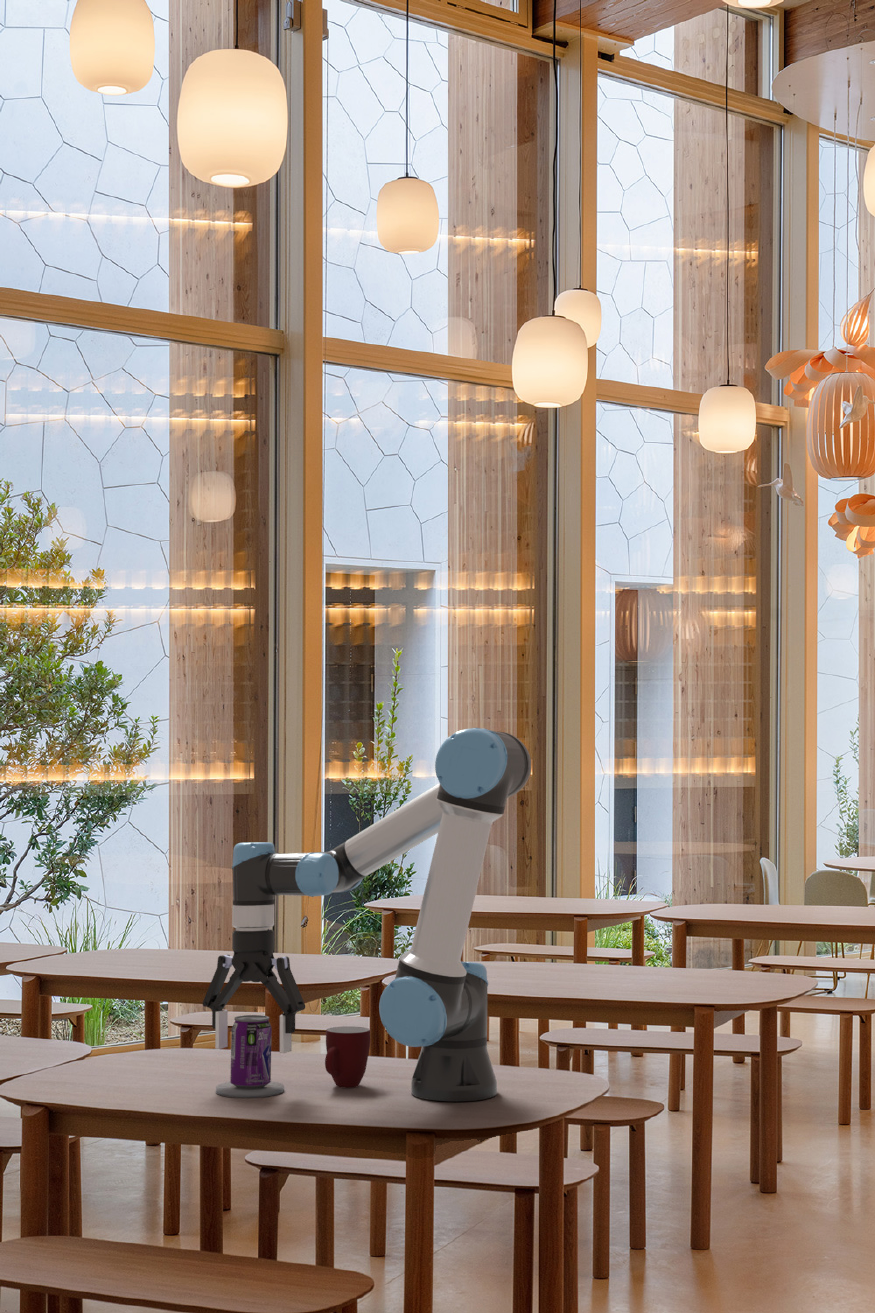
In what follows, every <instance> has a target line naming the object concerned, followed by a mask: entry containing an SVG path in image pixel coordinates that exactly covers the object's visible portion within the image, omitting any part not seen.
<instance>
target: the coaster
mask: <svg viewBox="0 0 875 1313" xmlns="http://www.w3.org/2000/svg"><path fill="white" fill-rule="evenodd" d="M284 1091H285V1085H284V1084H283V1083H281V1082H278V1081H272V1080H271V1082H270V1083H269V1084H267V1085H265V1086H264V1087H262V1088H258V1089H241V1088H237V1087H236V1086H235V1085H233V1084H231V1083H230V1081H226V1082H221V1083H220V1084H217V1085H216V1086H215V1094H217V1095H219V1096H222V1097H227V1098H236V1099H256V1098H268V1097H273V1096H277V1095H281V1094H282V1093H284Z"/></svg>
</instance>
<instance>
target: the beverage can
mask: <svg viewBox="0 0 875 1313" xmlns="http://www.w3.org/2000/svg"><path fill="white" fill-rule="evenodd" d="M269 1020H270V1016H267V1015H263V1014H262V1015H261V1014H260V1015H259V1014H246V1015H238V1016H237V1015H236V1016H234V1022H233V1025H232V1026H231V1035H230V1036H231V1037H230V1038H231V1039H230V1041H231V1042H230V1043H231V1044H230V1050H231V1051H230V1081H229V1082H230V1083H231V1084H233V1085H235V1086H236V1087H237V1088H241V1089H258V1088H262V1087H264V1086H265V1085H267V1084H269V1083H270V1082H271V1081H272V1079H271V1075H272V1028H273V1027H272V1025H271V1022H270V1021H269Z"/></svg>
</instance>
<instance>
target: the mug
mask: <svg viewBox="0 0 875 1313" xmlns="http://www.w3.org/2000/svg"><path fill="white" fill-rule="evenodd" d="M370 1046H371V1029H370V1028H368V1027H366V1026H365V1027H364V1026H355V1025H354V1026H347V1025H346V1026H344V1025H343V1026H333V1027H329V1028H328V1027H327V1029H326V1030H325V1048H326V1054H325V1059H324V1067H325V1068H324V1069H325V1070H326V1072H327V1073H328V1074H329V1075H331V1077H332V1080H333V1082H334V1085H335V1086H336V1087H338V1088H341V1089H354V1088H358V1087H359V1086H360V1084H361V1081H362V1079H363V1077H364V1075H365V1073H366V1071H367V1070H366V1069H367V1065H368V1059H369V1053H370V1048H371V1047H370Z"/></svg>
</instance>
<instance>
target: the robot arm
mask: <svg viewBox="0 0 875 1313" xmlns="http://www.w3.org/2000/svg"><path fill="white" fill-rule="evenodd" d="M527 748H528V747H526V745H525V744H524V743H523V741H521V740H520V739H519V738H518V737H516V736H514V735H513V734H511V733H508V732H504V731H495V730H489V729H487V728H481V727H470V728H465V729H461V730H458V731H456V732H454V733H452V734H451V735H450V736H448V737H447V738H446V739H445V740H444V741H443V743H442V744H441V746H440V747H439V749H438V751H437V753H436V757H435V760H434V769H435V770H434V771H435V776H436V778H437V780H438V783H437V784H436V785H434V786H432V787H430V788H429V789H427V790H425V791H424V792H422V793H420V794H419V795H418V796H416V797H414V798H413V799H411V800H410V801H408V802H406V803H405V804H403V805H402V806H400V807H399V808H396V809H394V811H392V812H390V813H389V814H388V815H385V816H384V817H383V818H380V819H379V820H378V821H376V822H375V823H373V824H371V825H370V826H368V827H366V828H365V829H363V830H361V831H360V832H358V833H357V834H355V835H353V836H352V837H350V838H349V839H346V841H344V842H342V843H341V844H338V845H337V846H336V847H335V848H333V849H331V850H329V851H320V852H318V851H317V852H314V851H313V852H294V853H293V852H287V853H280V852H279V853H278V852H276V849H275V848H276V847H275V844H274V843H273V842H270V841H269V842H267V841H266V842H256V841H255V842H239V843H236V844H235V845H234V847H233V852H232V866H231V870H232V871H231V872H232V908H231V909H232V910H231V913H232V920H231V927H233V928H235V929H234V930H233V932H231V934H232V935H231V936H232V937H231V940H232V942H231V943H232V946H231V950H233V955H232V956H231V955H230V954H223V955H219V956H218V958H217V964H216V969H215V972H214V975H213V976H212V979H211V981H210V984H209V986H208V988H207V991H206V993H205V995H204V997H203V1000H202V1006H203V1007H204V1008H209V1009H210V1010H211V1017H212V1018H211V1019H212V1020H211V1024H212V1025H211V1026H212V1029H213V1030H214V1031H215V1036H214V1038H215V1039H214V1040H215V1041H214V1042H215V1044H214V1046H215V1048H214V1049H215V1050H221V1049H224V1048H228V1042H229V1041H228V1040H229V1039H228V1035H229V1034H228V1032H229V1031H228V1029H229V1028H228V1025H229V1024H228V1023H229V1022H228V1019H229V1018H228V1016H229V1015H228V1013H229V1010H228V1009H226V1005H227V1004H228V1003H229V1001H230V1000H231V998H232V997H233V995H234V994H235V992H236V991H237V990H238V989H239V987H240V986H241V984H242V983H248V982H252V983H261V985H264V986H265V987H266V989H267V991H268V992H269V993H270V995H271V996H272V998H273V999H274V1001H275V1002H276V1004H277V1005H278V1006H279V1008H280V1009H281V1011H282V1012H283V1013H282V1014H280V1015H279V1054H287V1053H290V1052H292V1049H293V1048H292V1045H293V1044H292V1042H293V1039H292V1038H293V1036H292V1034H294V1033H295V1031H296V1014H297V1013H298V1012H300V1011H301V1012H302V1011H304V1010H305V1009H306V1004H305V1000H304V999H303V996H302V994H301V992H300V990H299V987H298V985H297V982H296V979H295V977H294V975H293V973H292V972H293V971H292V970H291V966H290V965H291V964H290V957H289V956H287V955H286V956H279V957H276V958H275V957H274V950H275V931H274V930H273V929H272V927H274V926H275V896H296V897H297V896H299V897H300V896H301V897H302V896H303V897H304V896H305V897H306V896H308V897H312V898H313V897H320V896H329V895H331V894H332V893H339V894H341V893H346V892H348V891H351V890H354V889H356V888H358V886H359V885H360V884H361V883H362V882H363V879H365V877H368V875H370V874H372V873H374V872H375V871H378V869H380V868H382V867H384V866H386V865H387V864H389V863H390V862H392V861H394V860H395V859H397V858H398V857H400V856H401V855H403V854H406V852H408V851H411V850H412V849H413V848H415V847H417V846H418V845H420V844H421V843H424V842H425V841H427V840H428V839H430V838H432V837H433V836H435V835H436V834H437V836H436V839H435V840H436V841H435V845H434V850H433V853H432V858H431V862H430V865H429V871H428V874H427V878H426V882H425V883H426V884H425V888H424V893H423V897H422V901H421V905H420V910H419V913H418V917H417V918H418V919H417V922H416V927H415V931H414V936H413V939H412V944H411V947H410V949H409V950H407V951H406V952H405V953H402V955H401V954H400V957H399V960H398V965H397V968H396V972H395V976H394V979H393V980H392V981H390V982H389V983H388V984H387V985H386V987H385V988H384V989H383V991H382V994H381V995H380V999H379V1004H378V1005H379V1006H378V1008H379V1011H378V1012H379V1017H380V1020H381V1024H382V1025H383V1027H384V1029H385V1030H386V1033H388V1035H389V1036H390V1037H391V1038H392V1039H393V1040H395V1042H398V1043H399V1044H400V1045H404V1046H406V1047H409V1048H410V1047H411V1048H412V1047H413V1048H420V1047H421V1050H420V1053H419V1055H418V1058H417V1063H416V1065H415V1068H414V1072H413V1075H412V1078H411V1082H410V1083H411V1084H410V1085H411V1088H410V1091H411V1095H412V1096H414V1097H416V1098H419V1099H420V1098H421V1099H425V1100H429V1101H430V1100H431V1101H437V1102H438V1101H440V1102H472V1101H473V1102H474V1101H482V1100H486V1099H490V1098H493V1097H495V1096H496V1095H497V1093H498V1091H497V1090H498V1084H497V1083H498V1082H497V1077H496V1075H495V1071H494V1068H493V1065H492V1061H491V1058H490V1055H489V1051H488V986H489V980H488V972H487V967H486V966H485V965H484V964H483V963H481V962H480V963H479V962H472V961H471V962H470V961H462V960H461V959H462V955H463V951H464V946H465V942H466V937H467V932H468V929H469V924H470V921H471V916H472V911H473V907H474V903H475V898H476V895H477V890H478V886H479V882H480V881H479V880H480V877H481V872H482V868H483V863H484V860H485V856H486V855H485V854H486V851H487V847H488V842H489V837H490V834H491V830H492V826H493V825H492V824H494V822H495V821H497V820H499V819H500V818H501V817H503V816H504V815H505V814H504V813H505V808H506V805H507V804H506V803H507V801H508V799H509V798H510V797H513V796H514V795H516V794H518V793H519V792H520V791H521V790H522V789H523V788H524V787H525V785H526V784H527V783H528V781H529V778H530V775H531V772H532V771H531V770H532V759H531V756H530V753H529V750H528V749H527ZM232 966H233V968H234V971H233V973H232V974H231V976H230V977H229V980H228V981H227V983H226V984H225V982H226V979H227V976H228V974H229V972H230V968H231V967H232ZM273 969H275V970H276V971H277V975H278V976H277V975H276V973H275V972H274V971H273ZM278 977H279V980H280V982H281V984H282V985H281V984H280V982H279V981H278ZM224 984H225V985H224ZM223 986H224V987H223Z"/></svg>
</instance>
